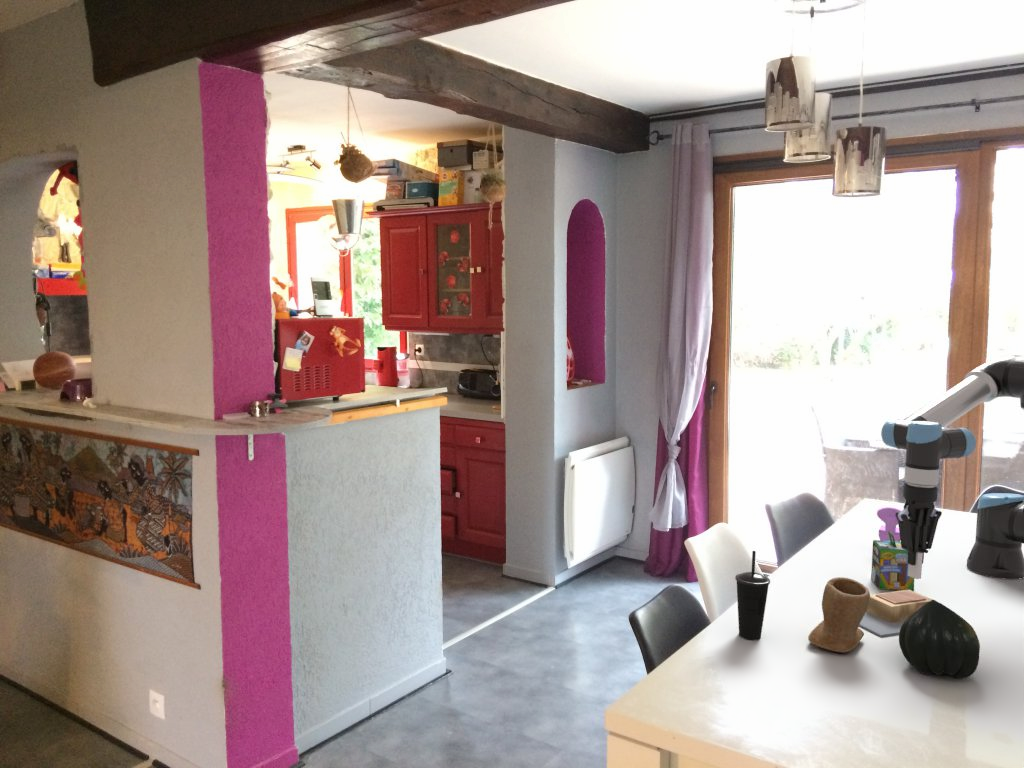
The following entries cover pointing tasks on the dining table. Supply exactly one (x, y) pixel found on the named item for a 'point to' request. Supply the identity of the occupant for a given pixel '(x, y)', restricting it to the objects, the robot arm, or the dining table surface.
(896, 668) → the dining table surface
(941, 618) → the squash
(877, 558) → the chalk box
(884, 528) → the toy chair
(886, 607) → the oak slab
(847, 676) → the dining table surface
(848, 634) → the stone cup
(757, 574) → the drinking cup
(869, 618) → the mat
